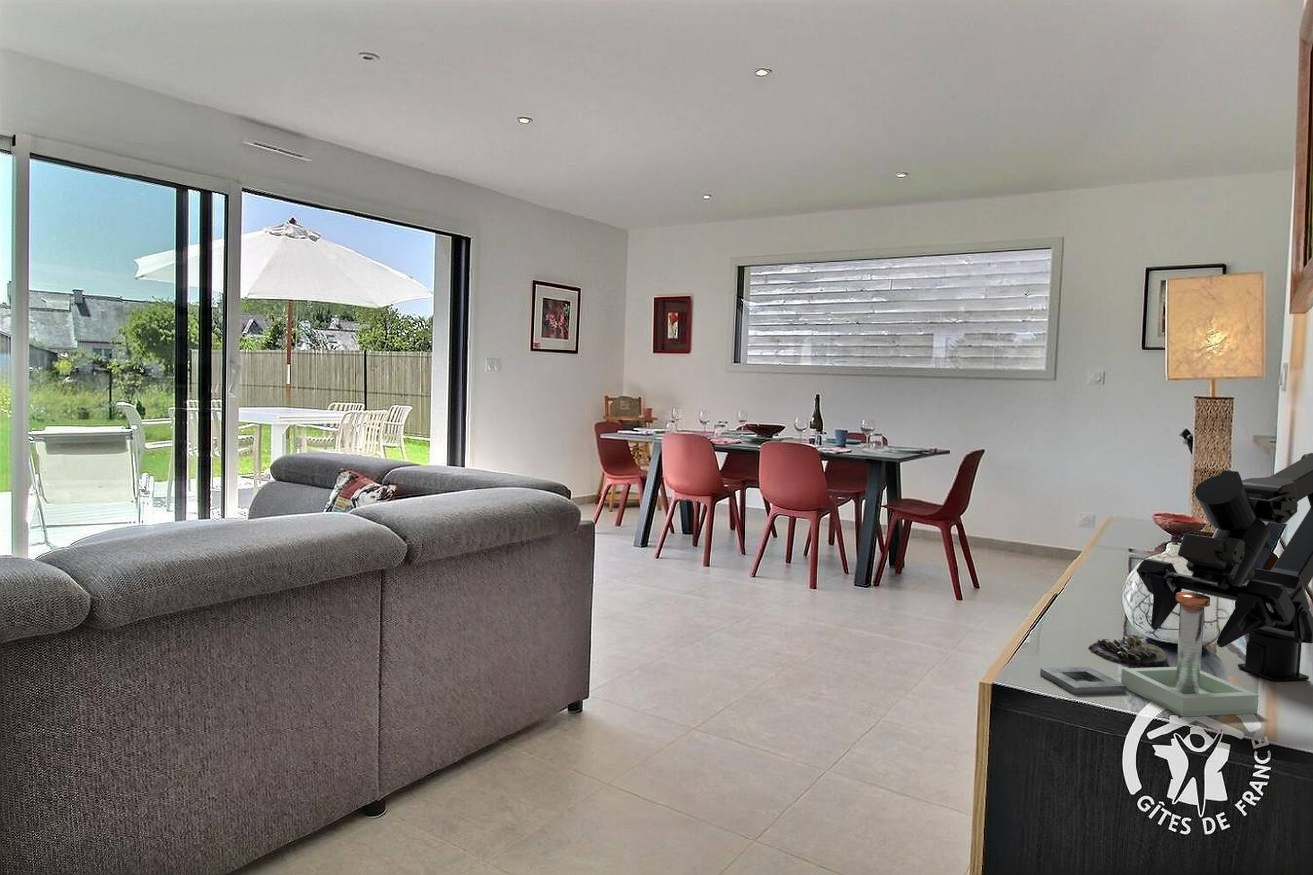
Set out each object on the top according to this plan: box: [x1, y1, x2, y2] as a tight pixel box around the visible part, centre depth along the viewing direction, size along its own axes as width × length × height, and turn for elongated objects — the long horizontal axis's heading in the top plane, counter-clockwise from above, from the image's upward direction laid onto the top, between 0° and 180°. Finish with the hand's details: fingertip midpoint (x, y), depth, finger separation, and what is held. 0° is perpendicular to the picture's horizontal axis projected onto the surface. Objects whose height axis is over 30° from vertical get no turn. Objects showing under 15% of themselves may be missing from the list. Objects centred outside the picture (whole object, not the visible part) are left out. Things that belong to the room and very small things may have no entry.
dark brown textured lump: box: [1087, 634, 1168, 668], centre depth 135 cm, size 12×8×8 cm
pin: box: [1175, 591, 1211, 694], centre depth 116 cm, size 4×4×14 cm
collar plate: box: [1039, 666, 1127, 695], centre depth 122 cm, size 8×8×1 cm
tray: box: [1120, 666, 1260, 718], centre depth 116 cm, size 11×11×2 cm
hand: (1185, 636), depth 115 cm, fingers open, 8 cm apart
